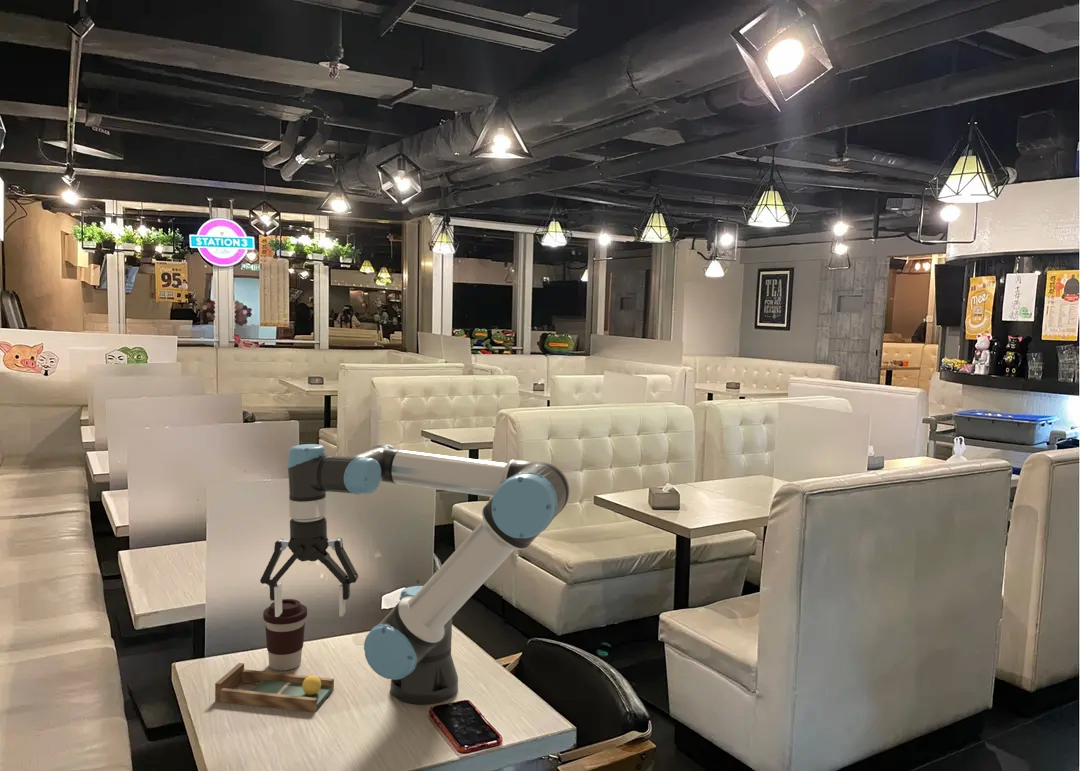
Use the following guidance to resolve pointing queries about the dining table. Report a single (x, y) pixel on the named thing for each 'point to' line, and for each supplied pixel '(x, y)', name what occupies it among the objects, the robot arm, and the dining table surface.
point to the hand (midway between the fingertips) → (310, 614)
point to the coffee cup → (285, 634)
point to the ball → (311, 685)
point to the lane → (271, 690)
